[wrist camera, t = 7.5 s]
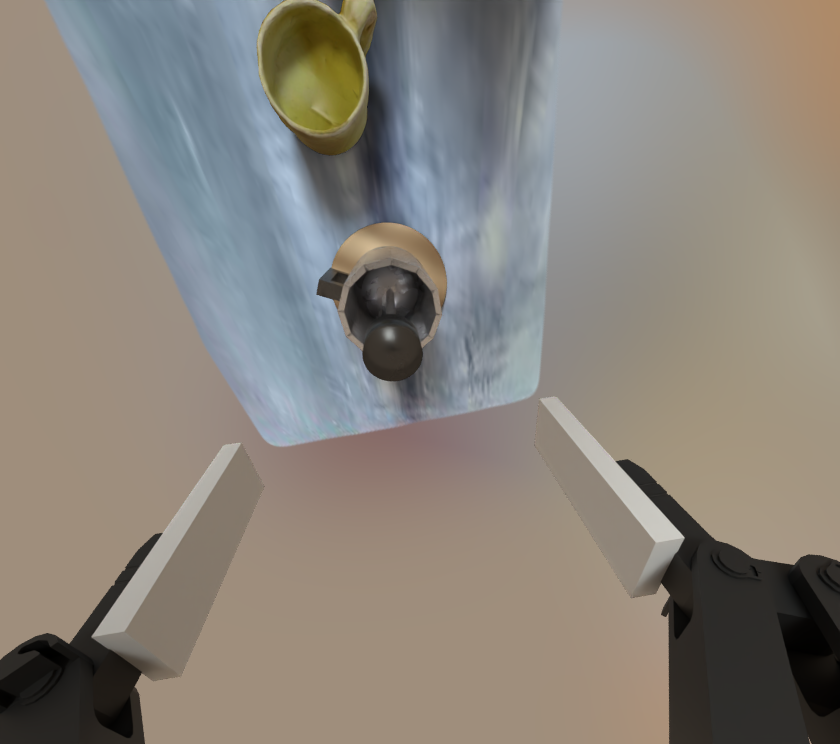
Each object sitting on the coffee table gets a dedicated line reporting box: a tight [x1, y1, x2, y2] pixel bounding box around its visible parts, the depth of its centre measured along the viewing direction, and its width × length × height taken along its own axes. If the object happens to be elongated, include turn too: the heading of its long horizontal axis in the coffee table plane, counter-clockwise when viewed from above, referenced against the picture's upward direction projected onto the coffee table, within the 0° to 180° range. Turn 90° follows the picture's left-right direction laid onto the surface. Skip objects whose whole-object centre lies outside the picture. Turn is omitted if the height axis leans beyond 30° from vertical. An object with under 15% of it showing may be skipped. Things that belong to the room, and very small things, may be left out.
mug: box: [257, 0, 377, 155], centre depth 29 cm, size 12×10×10 cm
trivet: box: [332, 223, 447, 309], centre depth 42 cm, size 16×16×1 cm
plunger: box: [362, 265, 423, 381], centre depth 31 cm, size 7×7×20 cm
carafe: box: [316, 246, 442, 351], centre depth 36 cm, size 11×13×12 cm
